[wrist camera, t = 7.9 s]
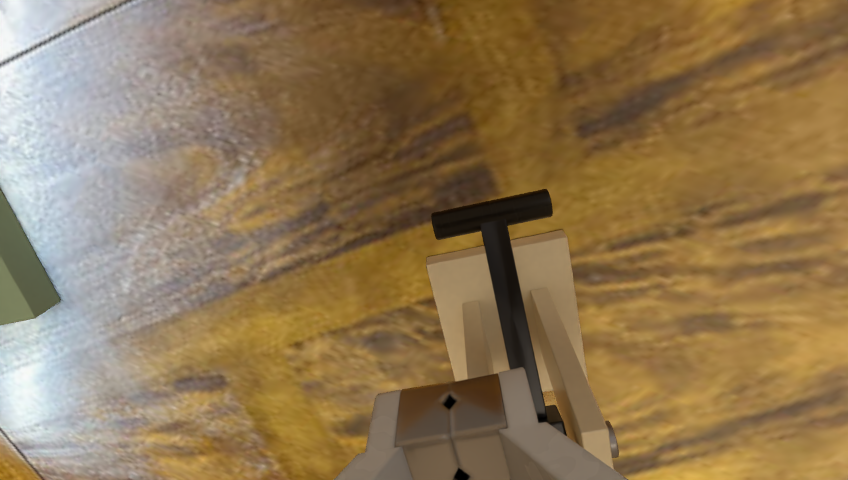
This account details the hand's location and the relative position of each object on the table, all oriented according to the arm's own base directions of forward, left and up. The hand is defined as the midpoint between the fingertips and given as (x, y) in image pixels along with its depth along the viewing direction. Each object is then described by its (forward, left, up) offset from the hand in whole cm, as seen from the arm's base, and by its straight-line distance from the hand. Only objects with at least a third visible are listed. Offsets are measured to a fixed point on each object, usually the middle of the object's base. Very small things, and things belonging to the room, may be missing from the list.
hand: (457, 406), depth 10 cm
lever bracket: (+10, +2, -20) cm, 22 cm away
